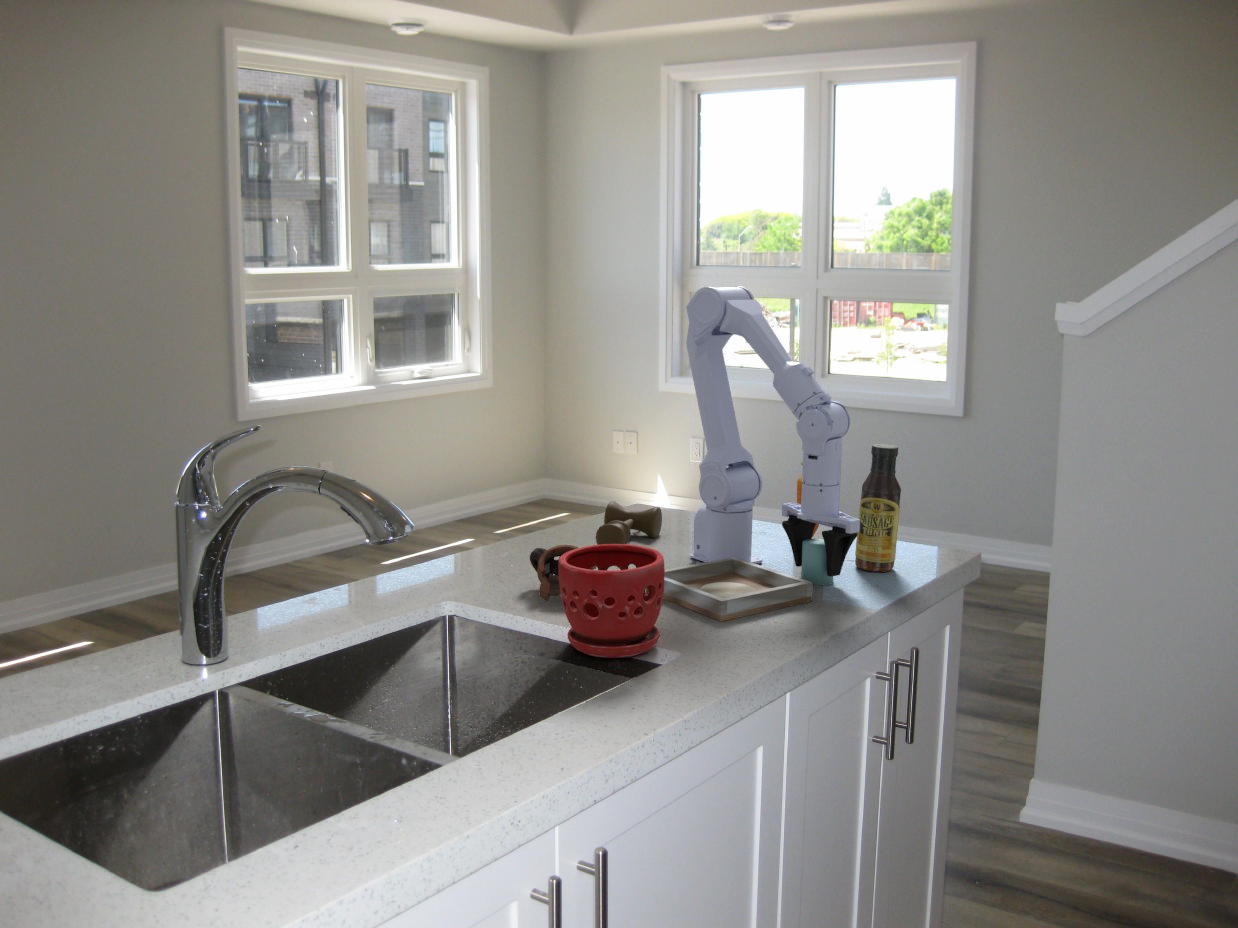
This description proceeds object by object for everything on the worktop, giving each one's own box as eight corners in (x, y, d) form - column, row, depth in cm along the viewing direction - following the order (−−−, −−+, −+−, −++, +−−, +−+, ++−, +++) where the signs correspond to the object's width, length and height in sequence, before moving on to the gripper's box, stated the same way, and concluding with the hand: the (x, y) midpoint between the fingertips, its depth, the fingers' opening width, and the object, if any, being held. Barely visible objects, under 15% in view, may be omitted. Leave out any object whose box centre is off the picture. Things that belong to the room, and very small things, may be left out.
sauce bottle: (851, 570, 182) (857, 446, 178) (858, 561, 187) (864, 441, 184) (893, 575, 179) (900, 449, 176) (899, 565, 185) (906, 443, 182)
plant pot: (584, 626, 153) (584, 538, 151) (677, 639, 148) (679, 548, 146) (540, 656, 141) (540, 561, 139) (640, 671, 136) (642, 573, 134)
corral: (646, 591, 169) (646, 573, 169) (733, 574, 179) (734, 557, 178) (721, 621, 155) (721, 601, 155) (811, 601, 165) (812, 582, 165)
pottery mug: (612, 593, 170) (608, 554, 165) (571, 633, 164) (566, 594, 159) (550, 560, 176) (544, 521, 171) (509, 598, 170) (502, 559, 165)
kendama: (581, 553, 193) (618, 525, 212) (636, 560, 190) (668, 530, 209) (581, 519, 192) (619, 493, 211) (637, 525, 189) (669, 498, 208)
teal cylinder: (794, 579, 177) (796, 541, 176) (817, 574, 179) (818, 537, 178) (816, 586, 173) (818, 547, 172) (839, 581, 175) (841, 543, 174)
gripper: (768, 477, 177) (765, 563, 179) (837, 493, 165) (833, 585, 168) (801, 473, 181) (798, 557, 183) (871, 488, 169) (866, 577, 172)
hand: (817, 570), depth 176 cm, fingers open, 6 cm apart
